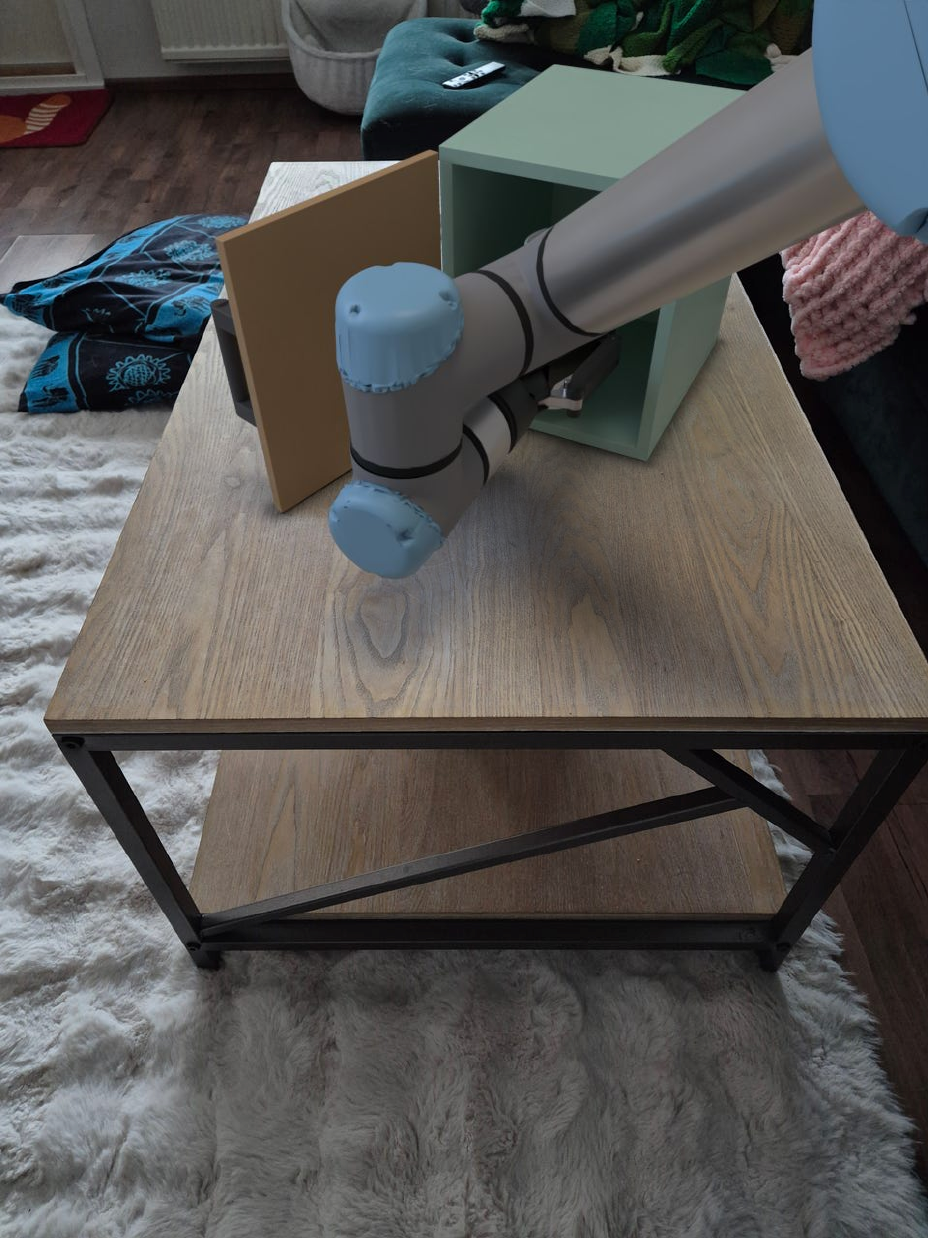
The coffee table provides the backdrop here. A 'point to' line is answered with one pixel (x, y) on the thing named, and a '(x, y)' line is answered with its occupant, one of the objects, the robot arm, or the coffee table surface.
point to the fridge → (557, 186)
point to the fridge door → (313, 311)
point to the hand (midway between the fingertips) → (578, 296)
